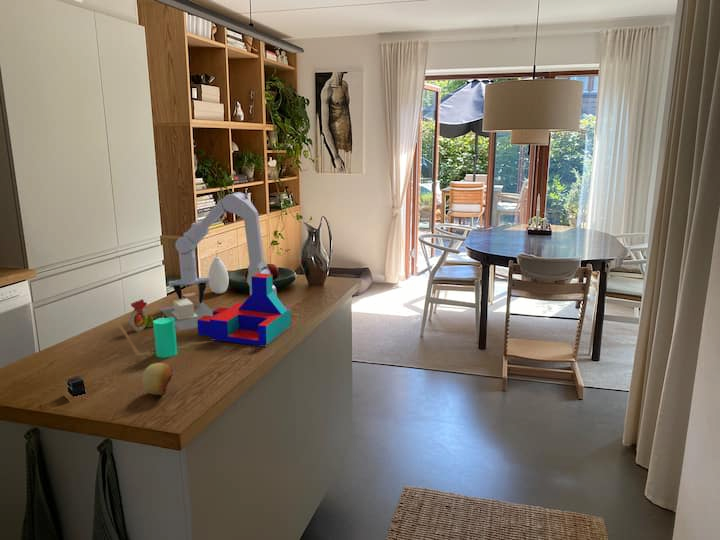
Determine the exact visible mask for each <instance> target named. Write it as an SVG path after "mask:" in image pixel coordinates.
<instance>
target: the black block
mask: <svg viewBox="0 0 720 540" xmlns="http://www.w3.org/2000/svg"><path fill="white" fill-rule="evenodd" d="M66 387H67V390H68V392H69V393H70V394H71V395H72V396H73V397H74V396H78V395H82V394H86V392H85V388H86V386H85V381H84V379H83V378H82V377H80V375H77V376H73V377H69V378H67V379H66Z"/></svg>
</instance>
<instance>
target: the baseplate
mask: <svg viewBox="0 0 720 540" xmlns="http://www.w3.org/2000/svg"><path fill="white" fill-rule="evenodd" d="M199 303H200V302H199ZM159 310H160V311H161V312H162V314H164V316H166V318H169V317H172V318H174V321H175V328H177V330H179V332H183V331H187V330H191V329H193V330H194V329H198V323H197V320H198V319H200V318H202V317H203V316H205V315H206V316H213V311H214V309H212V308H210V307H209V306H208V305H207V304H206V303H204V302H203V301H202V303H200V307H194V316H191V317H185V318H180V317H179V316H178V315H177V314H176V313H175V312H174V305H172V306H165V307H160V308H159Z"/></svg>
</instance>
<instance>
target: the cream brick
mask: <svg viewBox="0 0 720 540" xmlns="http://www.w3.org/2000/svg"><path fill="white" fill-rule="evenodd" d="M172 301H173V302H172V303H173V306H174V312H175V313H176V314H177V315H178V316H179V317H180V318H185V317H191V316H194V304H193V303H192V302H191V301H190V300H188V299H187V298H183V297H182V299H179V298H178V299H173V300H172Z"/></svg>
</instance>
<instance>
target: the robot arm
mask: <svg viewBox="0 0 720 540" xmlns="http://www.w3.org/2000/svg"><path fill="white" fill-rule="evenodd" d="M250 199H251V198H250V197H249V195H246V194H245V193H243V192H242V191H238V192H237V191H236V192H234V193H228V194H225V196H223V198H221V199H220V200H219V201H217V203H216V204H215V205H214V207H213V208H212V209H211V210H210V211H209V212H208V214H206V215H205V217H204V218H203V219H202V220H201V221H196V222H192V223H191V225H190V228H189V229H188V230H187V231H186V232H184V233H183V234H182V235H183V236H182V237H179V238H177V239H176V242H175V245H174V246H175V249H176V251H177V252H178V259H179V268H180V269H179V270H180V279H175V280H171V281H170V280H169V281H168V287H169V289H170V288H173V290H174V291H175V293H176V295H177V297H178V299H183V297H182V295H183V294H182V287H183V286H185V287H186V286H193V285H194V286H195V285H197V287H198V288H197V289H198V295H199V302H200V303H202V302H203V297H204V293H205V291H206V289H207V284H208V285H209V283H210V279H209V277H198V273H197V262H196V248H197V247H198V244H199V243H200V242H201V241H202V240H203V239H204V238H205V237H206V236H207V235H208V234H209V232H210V226H212V225H213V224H214V223H215V222H216V221H217V220H218V219H219V218H220V217H221V216H222V215H223V214H225V213H232V214H235V215H237V216H239V218H241V219H243V222H244V229H245V237H246V246H247V252H248V261H249V264H248V267H247V268H248V270H247V271H248V272H247V273H248V274H247V276H246V283H247V285H248V286H249V296H250V295H251V294H252V276H254V275H255V274H257V273H261V274H272V273H271V271H270V269H269V268H268V263H267V262H266V261H265V259H264V252H263V243H262V234H261V226H260V218H259V212H258V210H257V208H256V207H255V206H254V204H253V202H252V201H251V200H250ZM273 292H274V294H275V295H276V296H277V297H278V292H277V288H276V286H275V285H274V284H273Z"/></svg>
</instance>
